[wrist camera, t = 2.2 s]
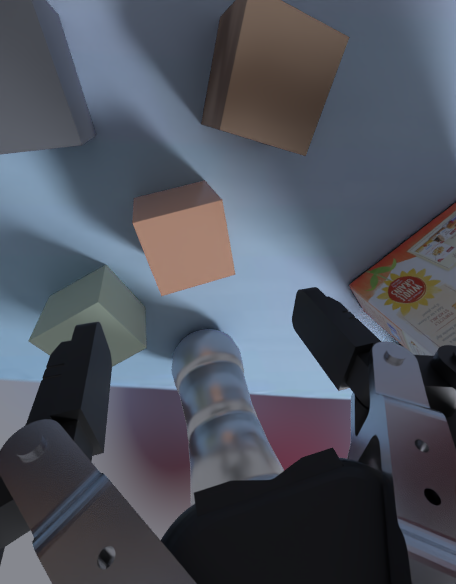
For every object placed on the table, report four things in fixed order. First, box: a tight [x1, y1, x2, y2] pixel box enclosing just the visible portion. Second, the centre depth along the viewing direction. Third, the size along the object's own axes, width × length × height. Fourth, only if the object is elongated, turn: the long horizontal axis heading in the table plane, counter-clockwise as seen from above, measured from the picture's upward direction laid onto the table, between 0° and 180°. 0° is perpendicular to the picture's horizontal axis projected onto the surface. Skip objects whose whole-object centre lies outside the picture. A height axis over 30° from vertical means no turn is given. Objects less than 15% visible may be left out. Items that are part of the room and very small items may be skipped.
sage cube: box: [29, 265, 147, 367], centre depth 20 cm, size 5×5×5 cm
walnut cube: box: [201, 0, 349, 156], centre depth 14 cm, size 5×5×5 cm
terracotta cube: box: [132, 181, 235, 296], centre depth 18 cm, size 5×5×5 cm
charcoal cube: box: [0, 0, 96, 154], centre depth 12 cm, size 5×5×5 cm
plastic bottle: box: [172, 329, 284, 506], centre depth 20 cm, size 6×7×20 cm
